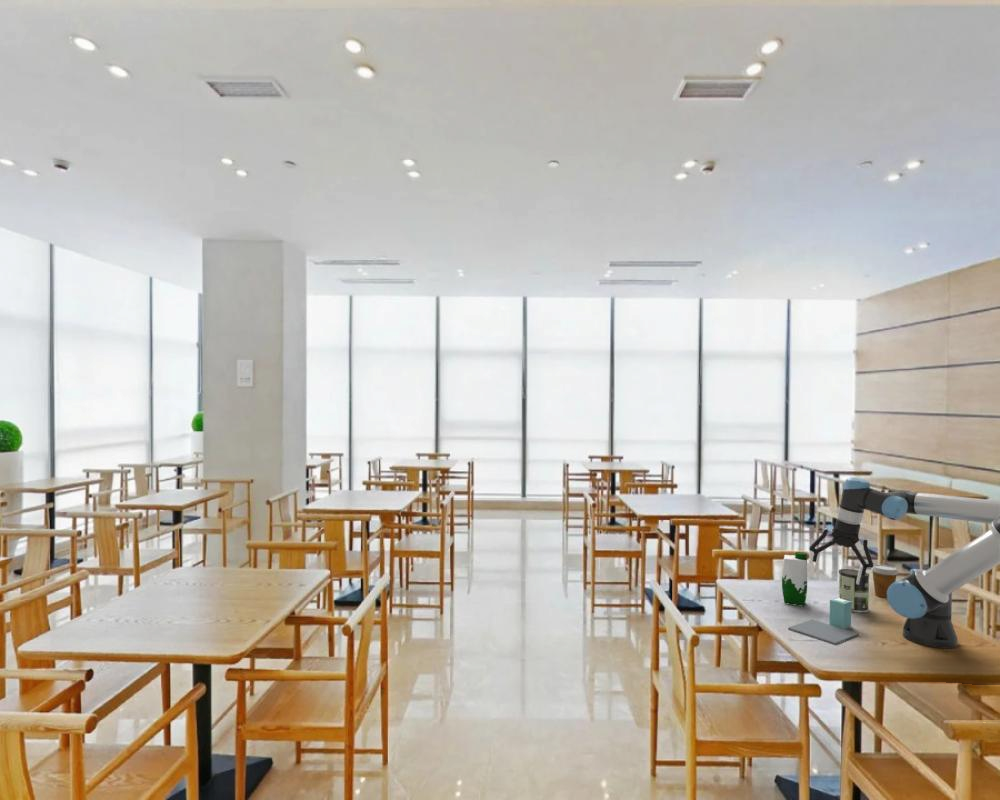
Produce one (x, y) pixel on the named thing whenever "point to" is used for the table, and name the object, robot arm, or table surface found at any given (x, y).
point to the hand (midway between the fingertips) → (836, 577)
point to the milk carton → (794, 578)
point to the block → (840, 613)
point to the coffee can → (854, 589)
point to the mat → (823, 631)
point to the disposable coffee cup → (883, 578)
